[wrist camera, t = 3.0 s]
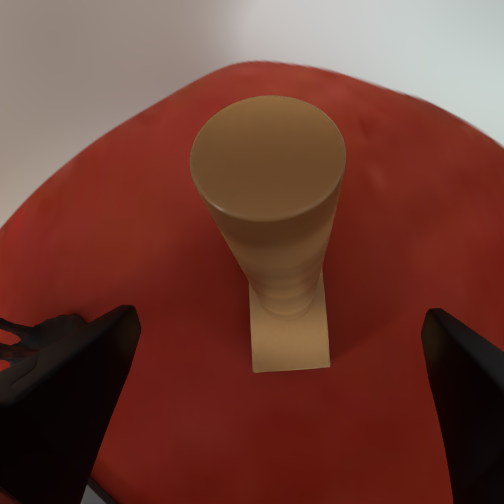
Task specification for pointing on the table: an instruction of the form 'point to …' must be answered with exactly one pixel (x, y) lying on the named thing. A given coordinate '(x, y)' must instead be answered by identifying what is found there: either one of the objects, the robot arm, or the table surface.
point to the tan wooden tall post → (275, 217)
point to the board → (95, 494)
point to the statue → (37, 336)
